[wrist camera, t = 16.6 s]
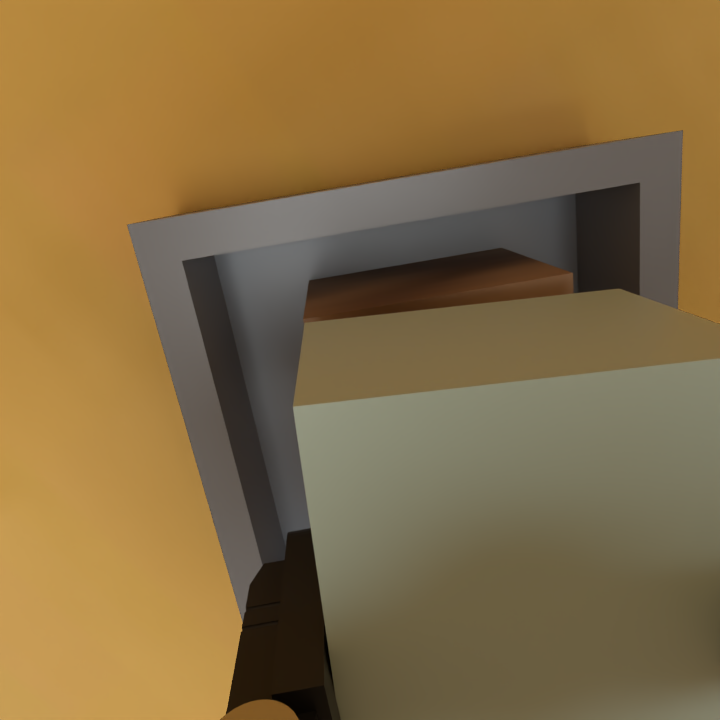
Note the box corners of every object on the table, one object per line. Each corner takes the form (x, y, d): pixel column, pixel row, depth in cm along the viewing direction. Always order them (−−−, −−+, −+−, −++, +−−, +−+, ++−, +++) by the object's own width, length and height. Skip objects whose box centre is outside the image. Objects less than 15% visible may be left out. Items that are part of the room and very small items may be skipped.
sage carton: (619, 288, 10) (793, 349, 6) (598, 654, 13) (710, 846, 9) (304, 322, 10) (292, 406, 6) (352, 686, 13) (364, 895, 9)
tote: (591, 144, 17) (682, 130, 12) (599, 522, 21) (669, 607, 17) (177, 214, 17) (126, 224, 12) (273, 580, 21) (260, 681, 17)
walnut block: (501, 247, 17) (573, 273, 12) (520, 497, 19) (583, 599, 15) (309, 280, 16) (302, 319, 12) (356, 526, 19) (366, 637, 15)
